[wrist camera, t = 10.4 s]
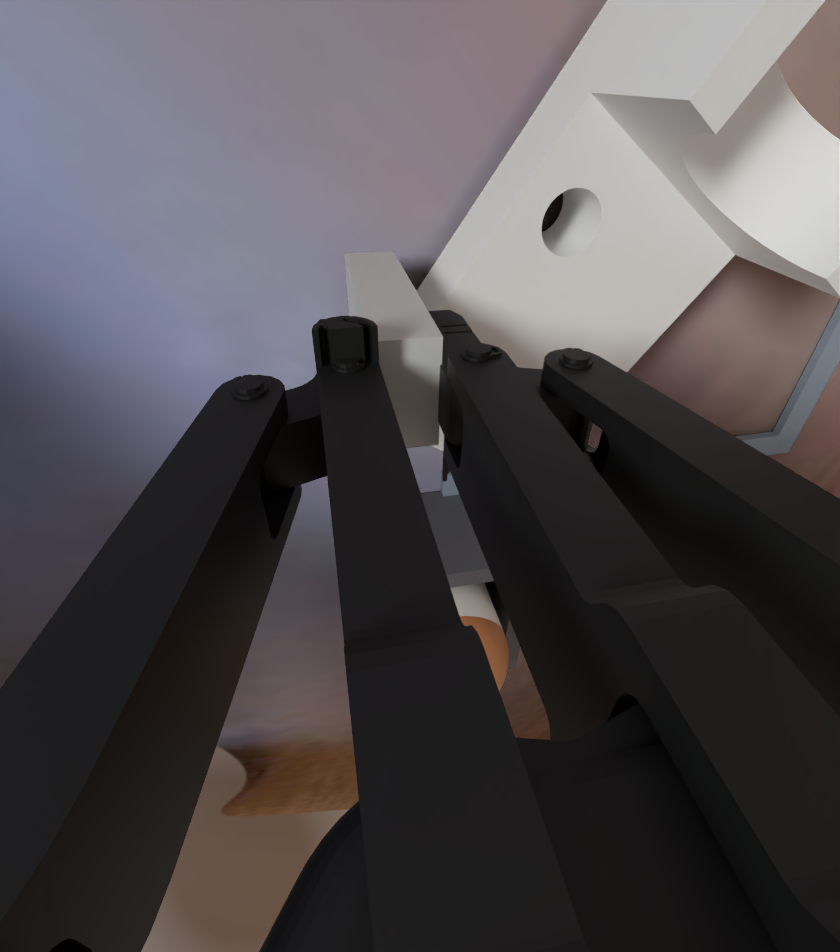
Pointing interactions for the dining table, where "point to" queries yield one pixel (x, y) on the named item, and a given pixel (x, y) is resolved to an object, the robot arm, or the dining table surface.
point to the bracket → (647, 184)
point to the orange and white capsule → (484, 626)
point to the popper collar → (465, 555)
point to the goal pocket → (830, 350)
